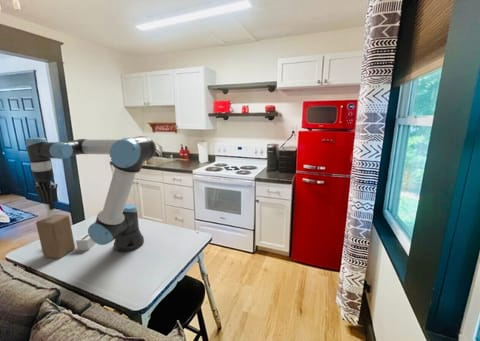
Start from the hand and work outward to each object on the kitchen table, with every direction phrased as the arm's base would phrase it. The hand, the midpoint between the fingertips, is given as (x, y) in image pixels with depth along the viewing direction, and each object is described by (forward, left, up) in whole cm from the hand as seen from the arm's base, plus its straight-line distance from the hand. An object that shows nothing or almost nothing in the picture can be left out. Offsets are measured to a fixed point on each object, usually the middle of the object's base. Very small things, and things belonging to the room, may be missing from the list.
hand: (51, 215), depth 117 cm
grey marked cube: (-9, -8, -22) cm, 25 cm away
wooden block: (0, 0, -22) cm, 22 cm away
